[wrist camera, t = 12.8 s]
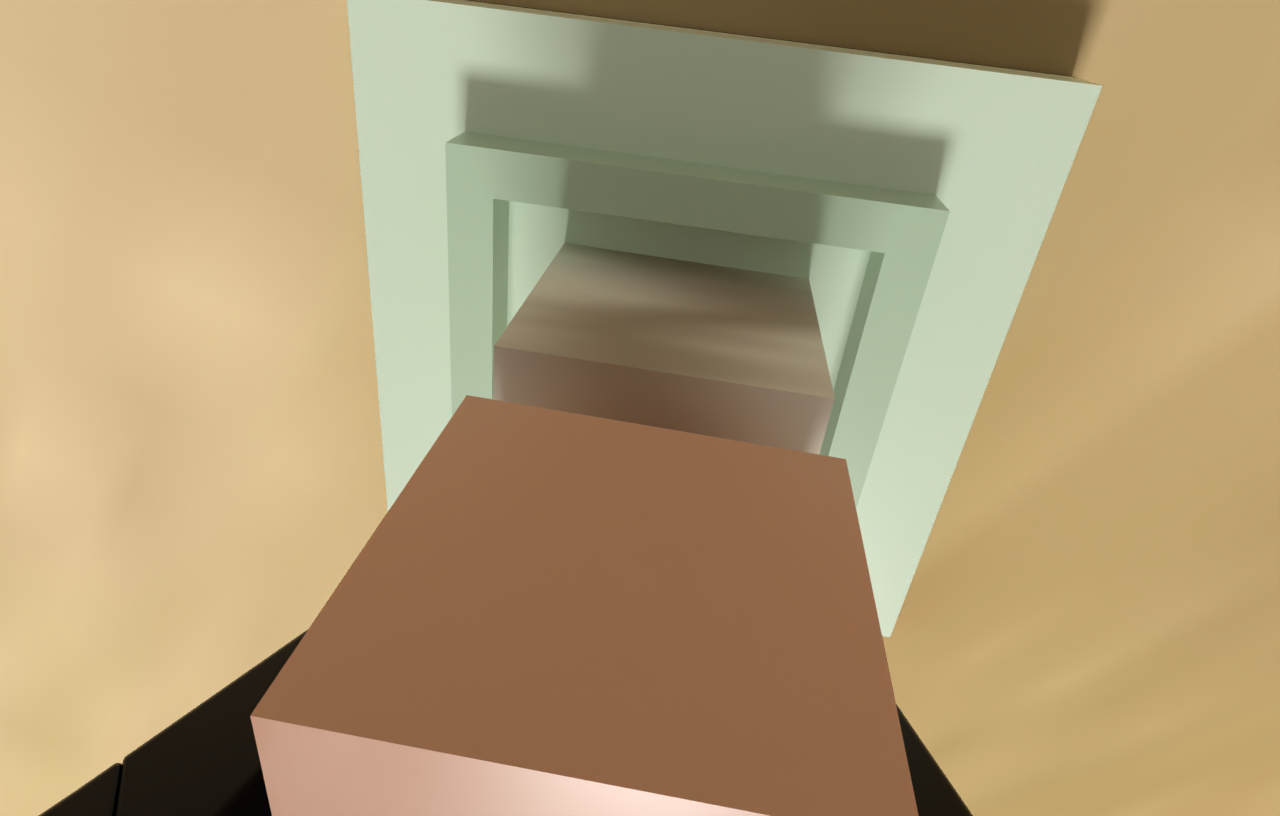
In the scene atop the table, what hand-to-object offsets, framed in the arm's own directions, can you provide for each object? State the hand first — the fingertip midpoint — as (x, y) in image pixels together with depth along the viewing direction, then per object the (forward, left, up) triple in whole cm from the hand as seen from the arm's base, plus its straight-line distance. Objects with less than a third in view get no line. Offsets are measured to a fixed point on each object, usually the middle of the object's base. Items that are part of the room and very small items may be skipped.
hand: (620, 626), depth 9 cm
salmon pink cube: (0, 0, -1) cm, 1 cm away
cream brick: (0, 0, -7) cm, 7 cm away
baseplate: (0, 0, -8) cm, 8 cm away
